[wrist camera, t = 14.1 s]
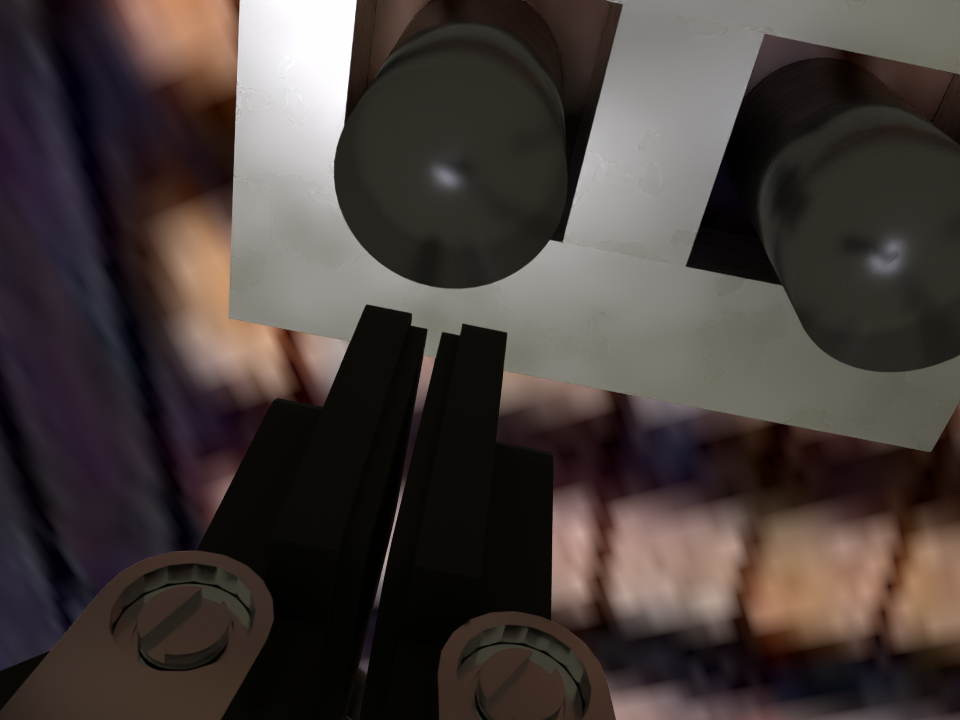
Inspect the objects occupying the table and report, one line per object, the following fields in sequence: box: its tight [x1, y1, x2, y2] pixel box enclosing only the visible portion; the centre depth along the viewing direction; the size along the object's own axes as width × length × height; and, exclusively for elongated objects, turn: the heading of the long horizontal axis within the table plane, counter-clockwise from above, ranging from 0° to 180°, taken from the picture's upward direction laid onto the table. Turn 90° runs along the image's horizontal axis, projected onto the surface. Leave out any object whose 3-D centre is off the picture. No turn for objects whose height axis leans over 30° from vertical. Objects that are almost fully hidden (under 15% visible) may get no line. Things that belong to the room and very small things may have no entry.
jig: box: [229, 0, 960, 452], centre depth 20 cm, size 20×14×8 cm
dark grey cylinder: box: [334, 0, 568, 289], centre depth 20 cm, size 4×4×8 cm
